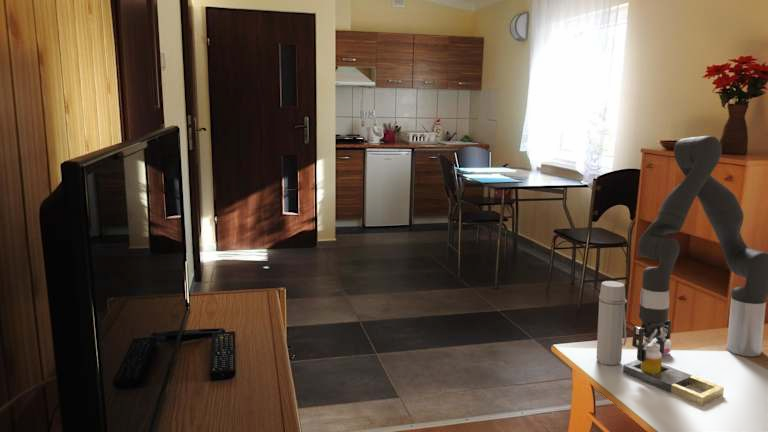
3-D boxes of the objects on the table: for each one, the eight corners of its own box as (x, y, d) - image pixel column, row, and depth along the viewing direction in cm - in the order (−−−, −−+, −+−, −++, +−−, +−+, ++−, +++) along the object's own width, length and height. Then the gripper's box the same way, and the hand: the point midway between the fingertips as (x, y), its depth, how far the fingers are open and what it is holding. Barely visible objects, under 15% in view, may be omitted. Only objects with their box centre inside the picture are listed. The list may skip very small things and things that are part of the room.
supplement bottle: (662, 380, 160) (665, 348, 159) (642, 379, 161) (644, 347, 160) (657, 372, 166) (659, 341, 164) (638, 371, 167) (640, 340, 165)
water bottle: (605, 368, 169) (609, 288, 165) (590, 357, 177) (594, 281, 172) (632, 365, 171) (637, 286, 167) (617, 354, 178) (620, 278, 174)
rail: (643, 364, 171) (644, 357, 170) (723, 396, 151) (723, 387, 150) (622, 372, 166) (623, 365, 165) (701, 406, 146) (702, 397, 145)
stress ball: (651, 358, 183) (640, 341, 183) (675, 346, 180) (663, 329, 181) (655, 367, 176) (643, 349, 176) (679, 355, 173) (667, 337, 174)
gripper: (657, 296, 167) (653, 347, 169) (626, 304, 160) (623, 358, 162) (681, 303, 160) (677, 356, 163) (650, 312, 153) (646, 367, 156)
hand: (650, 357), depth 163 cm, fingers open, 8 cm apart
